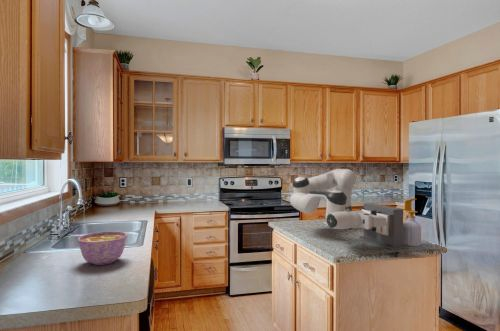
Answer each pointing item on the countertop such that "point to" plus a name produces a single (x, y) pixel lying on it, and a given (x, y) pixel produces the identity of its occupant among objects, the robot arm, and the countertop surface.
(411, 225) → the soap bottle
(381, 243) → the power panel
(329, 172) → the robot arm
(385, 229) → the block
